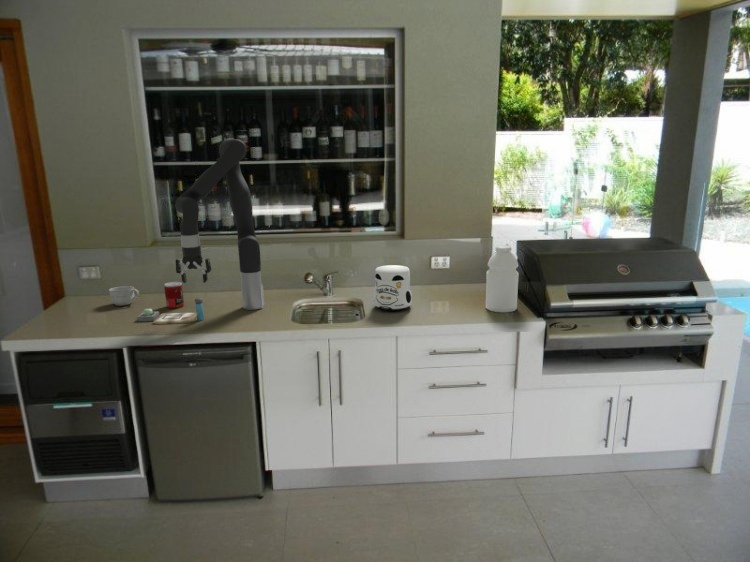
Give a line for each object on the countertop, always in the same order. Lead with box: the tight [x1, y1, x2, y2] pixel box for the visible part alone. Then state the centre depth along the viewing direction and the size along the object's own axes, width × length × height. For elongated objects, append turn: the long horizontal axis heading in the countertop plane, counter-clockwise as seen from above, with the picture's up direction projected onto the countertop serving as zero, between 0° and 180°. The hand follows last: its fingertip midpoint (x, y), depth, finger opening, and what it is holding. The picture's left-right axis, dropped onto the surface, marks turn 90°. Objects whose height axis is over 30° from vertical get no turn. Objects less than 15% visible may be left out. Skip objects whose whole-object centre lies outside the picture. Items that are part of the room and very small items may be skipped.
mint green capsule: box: [142, 308, 154, 316], centre depth 244 cm, size 4×4×3 cm
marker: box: [194, 297, 205, 322], centre depth 240 cm, size 3×3×9 cm
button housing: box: [136, 310, 161, 322], centre depth 244 cm, size 7×7×2 cm
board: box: [152, 312, 197, 325], centre depth 243 cm, size 16×12×1 cm
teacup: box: [108, 285, 140, 306], centre depth 265 cm, size 14×11×8 cm
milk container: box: [373, 264, 413, 312], centre depth 251 cm, size 17×17×18 cm
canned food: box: [163, 281, 185, 310], centre depth 260 cm, size 8×8×11 cm
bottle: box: [484, 244, 520, 313], centre depth 246 cm, size 14×14×28 cm
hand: (195, 282), depth 238 cm, fingers open, 8 cm apart
